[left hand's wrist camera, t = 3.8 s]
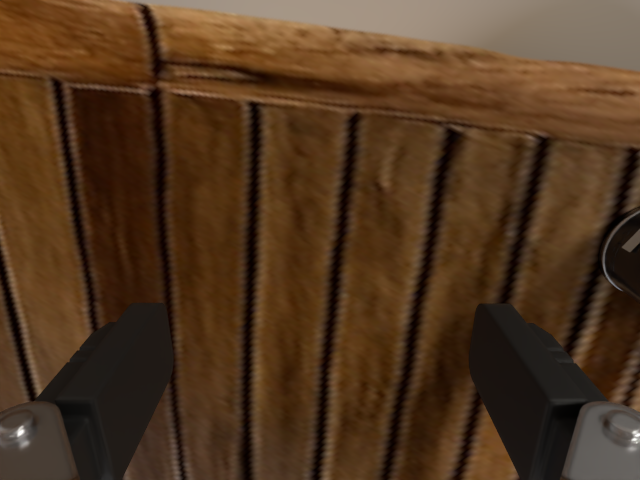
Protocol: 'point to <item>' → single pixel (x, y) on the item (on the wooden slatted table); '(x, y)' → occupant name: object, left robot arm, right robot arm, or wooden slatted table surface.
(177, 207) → the wooden slatted table surface
